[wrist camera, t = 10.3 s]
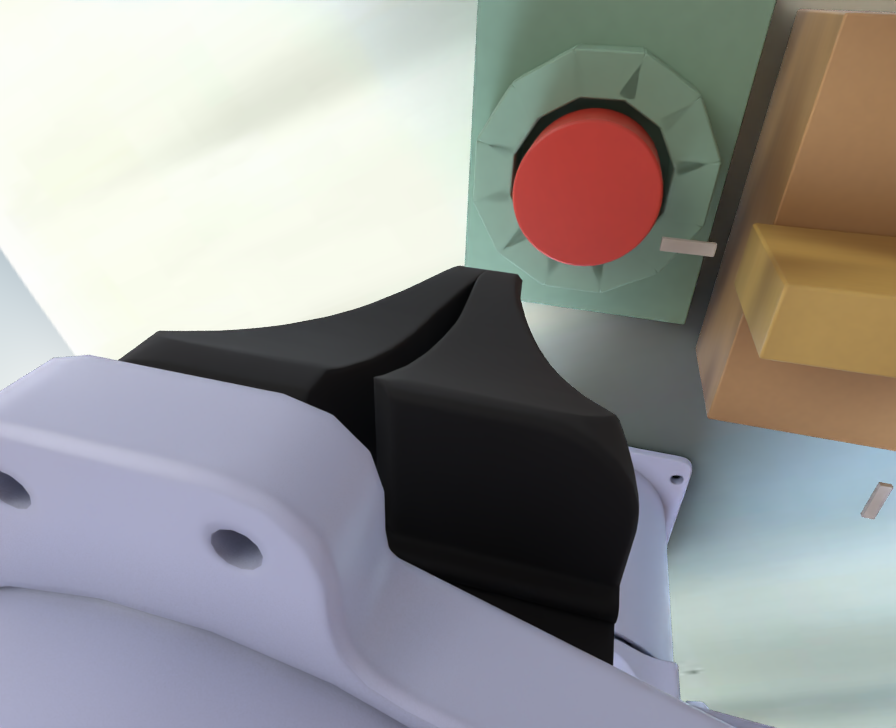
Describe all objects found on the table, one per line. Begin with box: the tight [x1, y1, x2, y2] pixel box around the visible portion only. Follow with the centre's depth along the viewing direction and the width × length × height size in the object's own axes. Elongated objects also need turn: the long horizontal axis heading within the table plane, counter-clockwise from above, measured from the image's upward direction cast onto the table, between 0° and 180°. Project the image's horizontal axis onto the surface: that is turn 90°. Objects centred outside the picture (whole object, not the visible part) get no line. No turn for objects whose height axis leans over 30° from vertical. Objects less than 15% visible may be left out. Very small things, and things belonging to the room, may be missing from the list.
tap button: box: [513, 108, 663, 266], centre depth 17 cm, size 4×4×2 cm
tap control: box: [465, 0, 777, 325], centre depth 18 cm, size 10×8×3 cm
